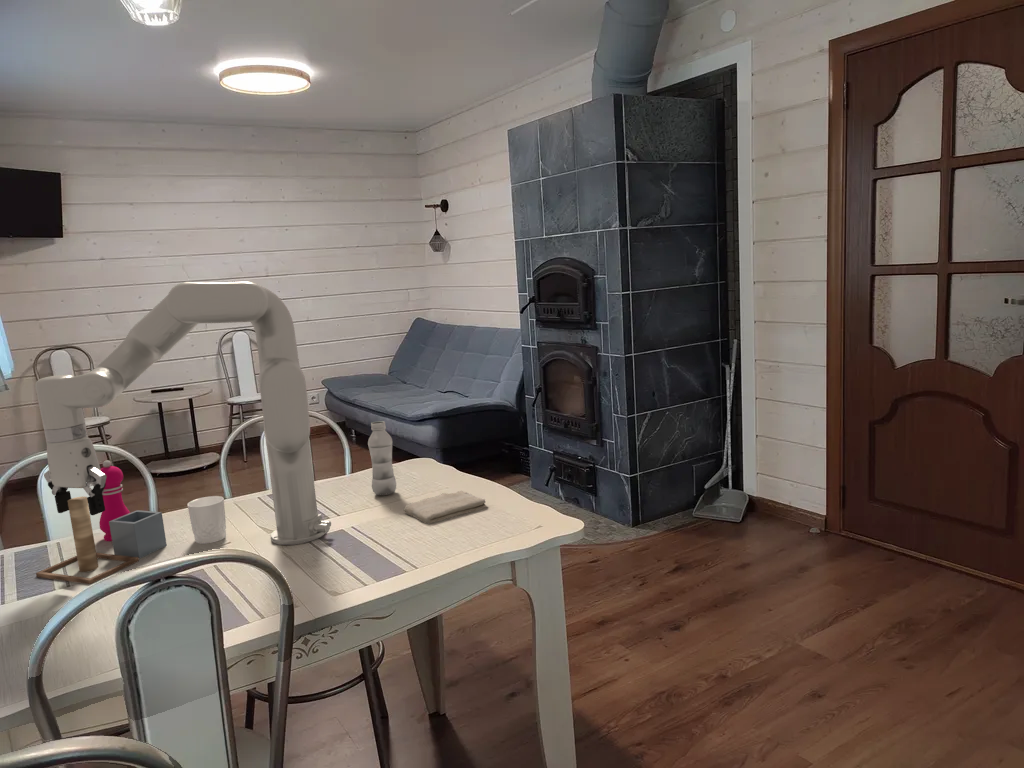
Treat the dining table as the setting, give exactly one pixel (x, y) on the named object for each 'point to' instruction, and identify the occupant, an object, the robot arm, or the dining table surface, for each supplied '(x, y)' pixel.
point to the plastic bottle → (381, 460)
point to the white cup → (207, 519)
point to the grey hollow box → (138, 533)
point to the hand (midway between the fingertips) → (81, 512)
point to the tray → (47, 574)
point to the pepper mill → (112, 498)
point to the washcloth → (444, 506)
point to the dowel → (83, 534)
